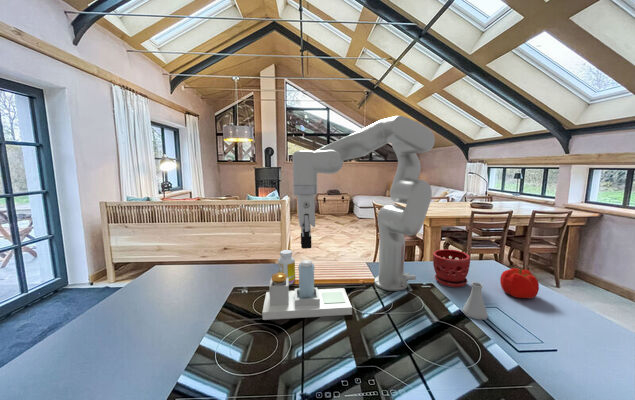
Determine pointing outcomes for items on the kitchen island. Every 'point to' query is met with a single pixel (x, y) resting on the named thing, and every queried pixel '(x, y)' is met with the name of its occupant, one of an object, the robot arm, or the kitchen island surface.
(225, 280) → the kitchen island surface
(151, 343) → the kitchen island surface
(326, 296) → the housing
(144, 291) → the kitchen island surface
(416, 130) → the robot arm
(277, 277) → the plunger
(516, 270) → the tomato
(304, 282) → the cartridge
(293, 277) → the supplement bottle
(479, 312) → the flask
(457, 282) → the plant pot
